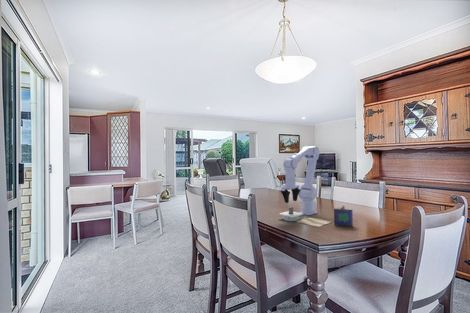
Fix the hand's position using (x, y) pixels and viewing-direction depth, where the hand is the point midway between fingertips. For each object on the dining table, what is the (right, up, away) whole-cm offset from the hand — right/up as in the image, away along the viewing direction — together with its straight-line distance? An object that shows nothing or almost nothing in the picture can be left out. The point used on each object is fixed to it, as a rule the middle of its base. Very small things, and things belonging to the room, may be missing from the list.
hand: (290, 201), depth 149 cm
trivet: (+11, -10, -8) cm, 17 cm away
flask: (+25, -10, -15) cm, 31 cm away
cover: (0, -8, 0) cm, 8 cm away
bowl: (0, -10, 0) cm, 10 cm away
